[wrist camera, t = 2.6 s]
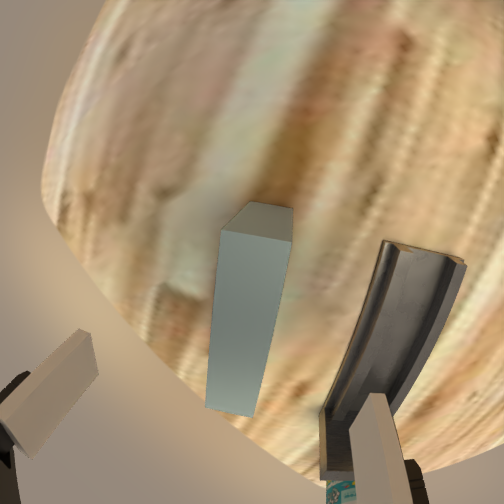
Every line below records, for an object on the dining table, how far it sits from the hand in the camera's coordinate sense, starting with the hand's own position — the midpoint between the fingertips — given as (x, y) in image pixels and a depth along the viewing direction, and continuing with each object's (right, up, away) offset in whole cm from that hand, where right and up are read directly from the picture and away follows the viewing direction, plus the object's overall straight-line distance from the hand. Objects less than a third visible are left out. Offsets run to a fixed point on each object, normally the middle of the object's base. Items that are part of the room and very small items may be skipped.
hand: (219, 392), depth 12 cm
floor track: (+14, -3, +12) cm, 19 cm away
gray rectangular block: (+2, +4, +12) cm, 13 cm away
